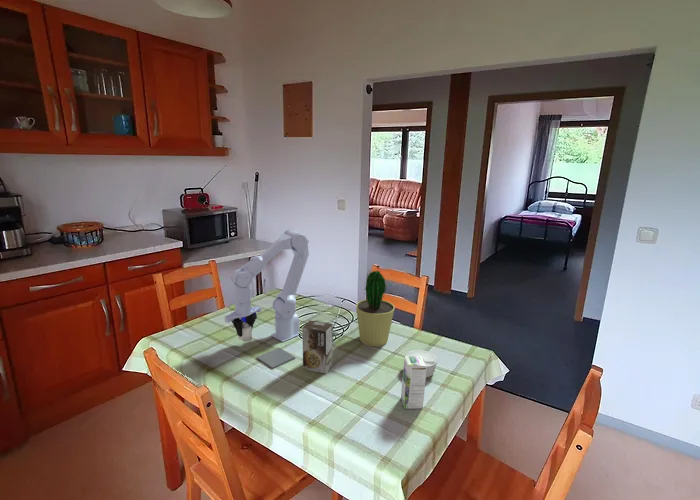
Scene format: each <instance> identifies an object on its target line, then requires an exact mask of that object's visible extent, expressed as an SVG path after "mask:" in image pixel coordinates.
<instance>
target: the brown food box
mask: <svg viewBox="0 0 700 500" xmlns="http://www.w3.org/2000/svg"><path fill="white" fill-rule="evenodd" d="M333 325H334V324H333V323H329V322H324V321H323V322H322V321H318V320H317V321H316V320H309V321H307V322H306V323H305V324H304V325H303V326H302V327H301V330H302V332H301V333H302V337H301V338H302V369H303V370H306V371H311V372H316V373H321V374H324V375H326V374H327V373H329V371H330V369H331V368H332V367H333V338H334V337H333V332H334V331H333V329H334V328H333V327H334V326H333Z"/></svg>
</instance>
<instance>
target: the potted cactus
mask: <svg viewBox="0 0 700 500" xmlns="http://www.w3.org/2000/svg"><path fill="white" fill-rule="evenodd" d="M364 282H365V283H364V284H365V286H364V288H363V290H364V291H365V292H364V295H366V299H363V300H359V301H358V302H357V303H356V305H355V306H356V315H357V324H358V327H357V328H358V335H359V340H360V342H361V343H362V344H363V345H366V346H369V347H381V346H384V345H386V344H387V343H388V341H389V340H388V339H389V336H390V331H391V325H392V322H393V321H392V320H393V316H394V311H395V308H396V307H395V305H394V304H393V303H392V302H390V301H387V300H384V298H385V293H386V291H387V288H388V287H387V286H388V285H387V284H388V282H387V281H386V278H385V275H383V273H381V271H380V270H372V271H370V272H369V273H368V275H366V280H364Z"/></svg>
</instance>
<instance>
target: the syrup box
mask: <svg viewBox="0 0 700 500" xmlns="http://www.w3.org/2000/svg"><path fill="white" fill-rule="evenodd" d="M402 368H403V369H402V380H401V381H402V382H401V393H400V397H401V402H402V405H403V408H404V409H405V410H410V409H411V410H412V409H413V410H414V409H415V410H416V409H423V408H424V400H425V399H424V398H425V387H426V382H427V380H426V379H427V378H426V370H427V366H426V364H425V361H424V359H423V357H422V356H404V358H403V367H402Z"/></svg>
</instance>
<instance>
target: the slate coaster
mask: <svg viewBox="0 0 700 500" xmlns="http://www.w3.org/2000/svg"><path fill="white" fill-rule="evenodd" d="M256 359H257V360H258V361H260V362H262V363H263V364H264V365H266V366H268V367H269V368H271V369H272V370H274V369H276V368H278V367H281V366H282V365H284V364H287V363H289V362H291V361H293V360H295V359H296V356H294V355H293V354H290V353H289V352H288V351H286V350H284V349H282V348H281V347H277V348H274V349H272V350H270V351H267V352H265V353H263V354H260V355H258V356H256Z"/></svg>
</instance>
